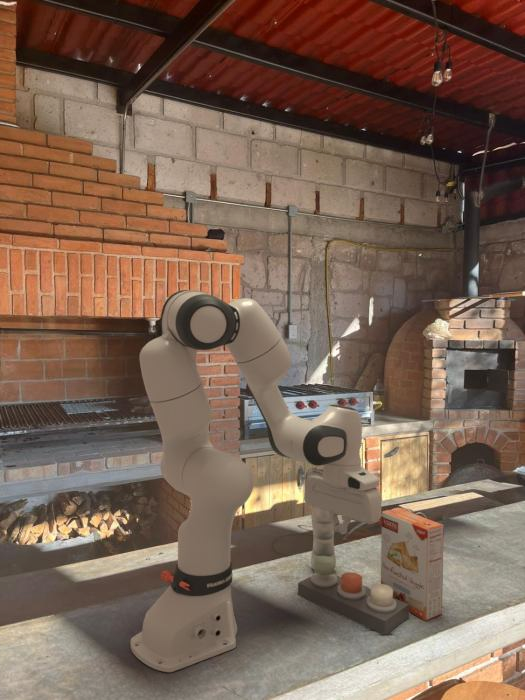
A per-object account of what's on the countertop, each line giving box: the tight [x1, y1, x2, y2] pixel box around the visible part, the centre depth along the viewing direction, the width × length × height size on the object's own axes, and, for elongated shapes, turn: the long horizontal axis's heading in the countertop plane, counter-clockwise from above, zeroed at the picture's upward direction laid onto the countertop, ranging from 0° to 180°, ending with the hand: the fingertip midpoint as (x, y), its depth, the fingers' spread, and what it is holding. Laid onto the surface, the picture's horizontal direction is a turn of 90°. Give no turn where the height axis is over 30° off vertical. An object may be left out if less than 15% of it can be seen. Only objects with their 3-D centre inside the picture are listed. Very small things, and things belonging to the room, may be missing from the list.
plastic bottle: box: [310, 507, 337, 570], centre depth 142 cm, size 6×7×20 cm
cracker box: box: [380, 507, 445, 622], centre depth 124 cm, size 14×6×21 cm, turn 33°
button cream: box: [370, 583, 393, 606], centre depth 118 cm, size 5×5×3 cm
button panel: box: [297, 572, 410, 636], centre depth 124 cm, size 10×24×4 cm, turn 46°
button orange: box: [340, 571, 363, 593], centre depth 124 cm, size 5×5×3 cm
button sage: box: [313, 556, 335, 575], centre depth 129 cm, size 5×5×3 cm
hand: (339, 532), depth 126 cm, fingers closed
